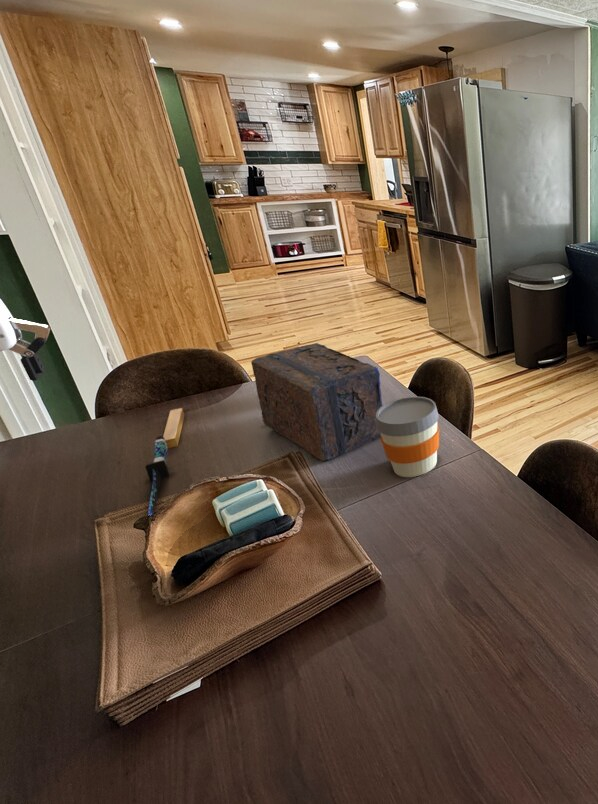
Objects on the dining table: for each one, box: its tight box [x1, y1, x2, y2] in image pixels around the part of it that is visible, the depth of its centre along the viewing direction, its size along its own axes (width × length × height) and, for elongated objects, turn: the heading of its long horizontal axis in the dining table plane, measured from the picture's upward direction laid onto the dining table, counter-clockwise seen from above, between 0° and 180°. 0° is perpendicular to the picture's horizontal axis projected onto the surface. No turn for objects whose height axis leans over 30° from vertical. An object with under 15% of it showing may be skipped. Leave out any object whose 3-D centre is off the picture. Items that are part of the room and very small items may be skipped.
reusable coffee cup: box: [376, 396, 440, 478], centre depth 104 cm, size 13×13×15 cm
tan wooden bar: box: [162, 407, 185, 449], centre depth 119 cm, size 2×18×2 cm, turn 35°
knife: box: [144, 435, 171, 517], centre depth 98 cm, size 31×3×4 cm, turn 32°
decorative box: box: [250, 342, 383, 462], centre depth 117 cm, size 31×20×20 cm
